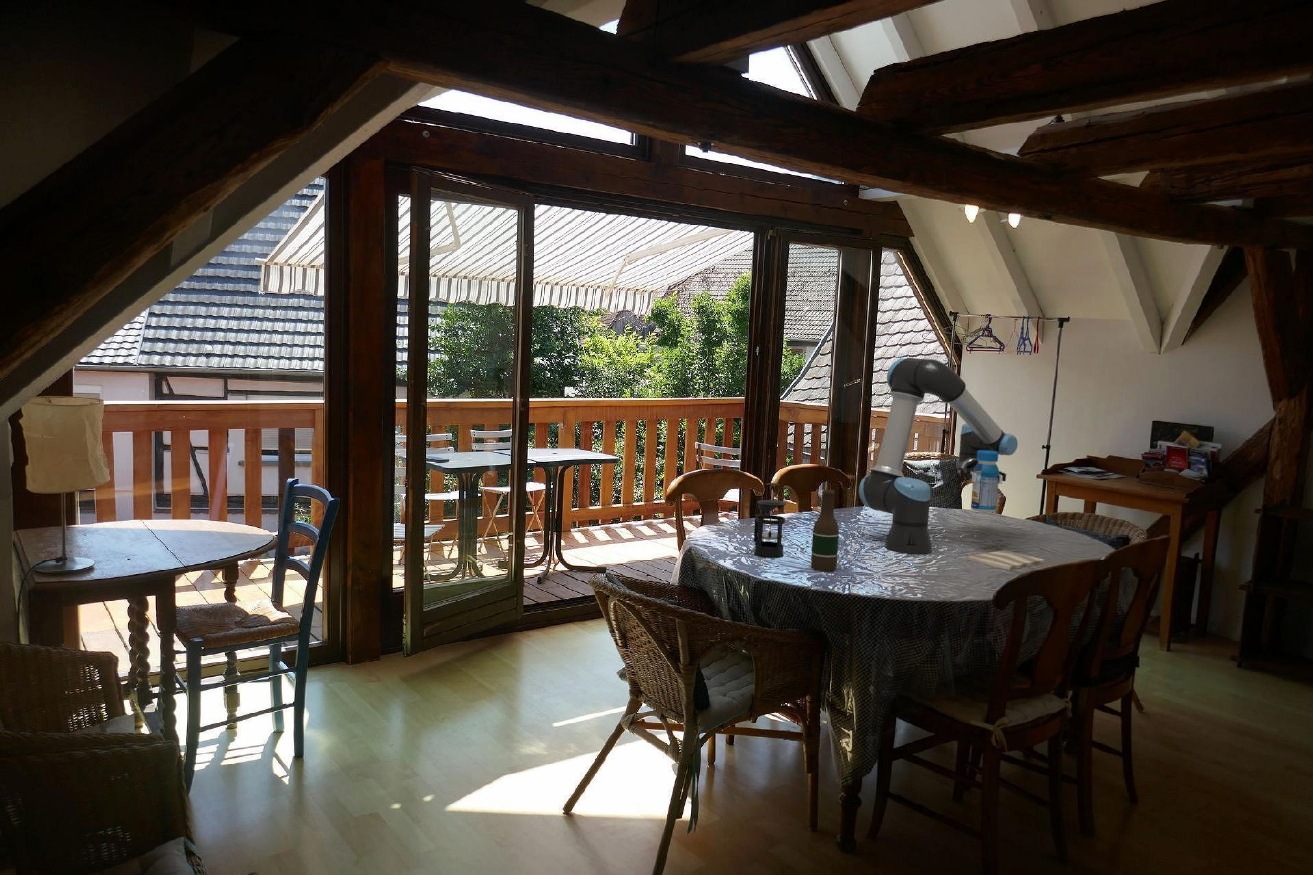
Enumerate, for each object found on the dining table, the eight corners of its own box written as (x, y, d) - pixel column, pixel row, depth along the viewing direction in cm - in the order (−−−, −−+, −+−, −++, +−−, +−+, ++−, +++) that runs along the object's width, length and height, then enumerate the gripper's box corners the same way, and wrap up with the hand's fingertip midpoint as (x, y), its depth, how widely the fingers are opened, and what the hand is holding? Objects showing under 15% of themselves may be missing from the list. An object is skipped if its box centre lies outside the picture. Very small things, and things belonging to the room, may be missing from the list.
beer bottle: (805, 568, 288) (810, 489, 286) (820, 564, 294) (825, 487, 291) (826, 573, 283) (831, 493, 280) (841, 569, 288) (846, 491, 286)
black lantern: (791, 556, 302) (795, 484, 300) (769, 559, 297) (773, 486, 294) (765, 549, 312) (769, 479, 309) (744, 552, 306) (748, 481, 304)
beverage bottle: (989, 513, 317) (994, 453, 315) (965, 509, 323) (970, 450, 320) (1000, 510, 323) (1005, 452, 321) (977, 506, 329) (981, 449, 327)
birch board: (1009, 569, 297) (1009, 566, 297) (967, 559, 309) (967, 556, 309) (1043, 562, 309) (1044, 559, 309) (1002, 553, 321) (1002, 550, 321)
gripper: (1003, 482, 340) (1019, 492, 318) (943, 478, 343) (955, 488, 320) (1004, 461, 340) (1020, 469, 317) (945, 457, 342) (957, 466, 320)
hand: (988, 479), depth 319 cm, fingers closed on beverage bottle, 8 cm apart
